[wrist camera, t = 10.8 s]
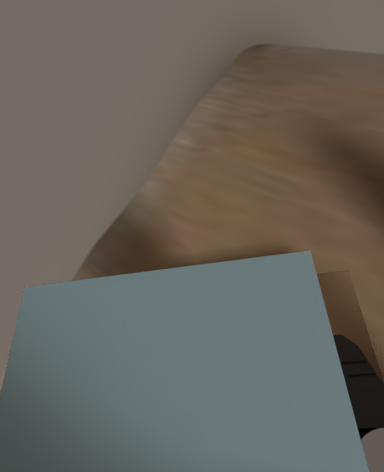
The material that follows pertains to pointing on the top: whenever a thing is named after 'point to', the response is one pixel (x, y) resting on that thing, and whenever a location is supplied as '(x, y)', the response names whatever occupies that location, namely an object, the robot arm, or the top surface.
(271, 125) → the top surface
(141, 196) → the top surface
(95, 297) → the slate block
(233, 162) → the top surface
